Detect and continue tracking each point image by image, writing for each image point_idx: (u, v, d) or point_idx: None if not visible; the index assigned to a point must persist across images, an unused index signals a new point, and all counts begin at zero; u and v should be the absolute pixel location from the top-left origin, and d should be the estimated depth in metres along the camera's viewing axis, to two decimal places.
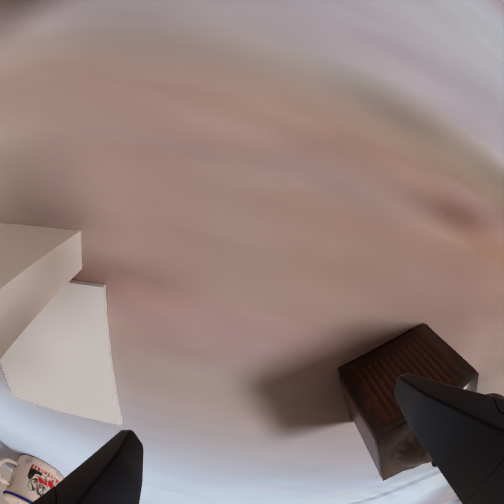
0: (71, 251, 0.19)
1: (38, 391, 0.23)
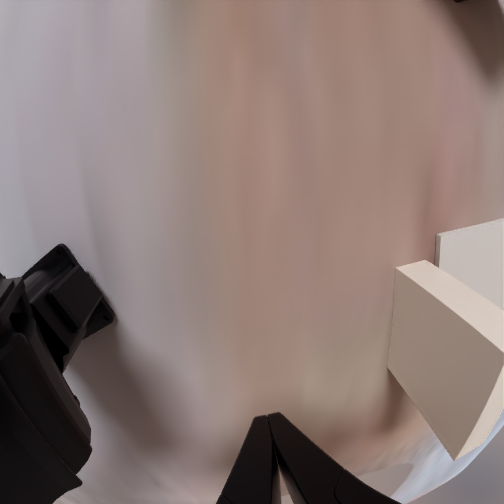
0: (419, 273, 0.20)
1: None
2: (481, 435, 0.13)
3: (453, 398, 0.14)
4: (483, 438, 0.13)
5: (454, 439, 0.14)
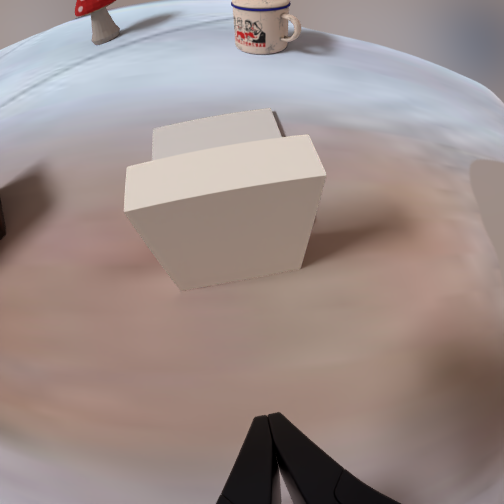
0: None
1: (235, 125, 0.32)
2: (280, 153, 0.15)
3: (240, 219, 0.17)
4: (294, 142, 0.15)
5: (292, 192, 0.15)
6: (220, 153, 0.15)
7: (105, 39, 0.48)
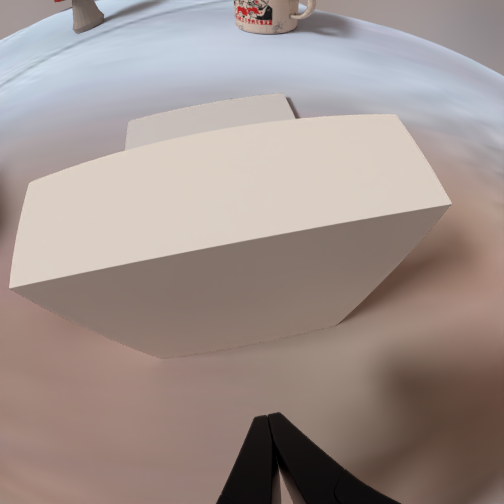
0: None
1: (236, 114, 0.23)
2: (353, 148, 0.06)
3: (260, 289, 0.08)
4: (375, 127, 0.07)
5: (378, 238, 0.07)
6: (215, 145, 0.06)
7: (87, 26, 0.39)
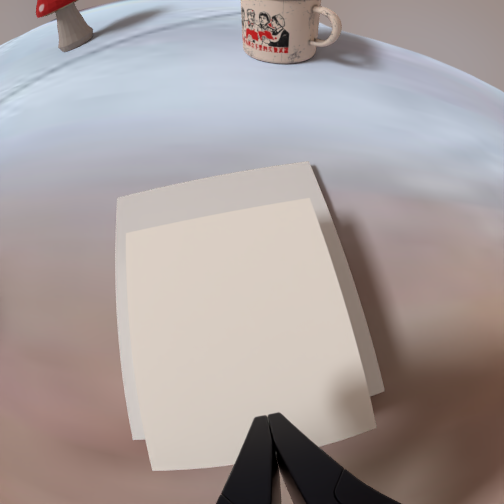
0: None
1: (252, 197, 0.20)
2: None
3: (237, 260, 0.15)
4: None
5: (284, 219, 0.15)
6: None
7: (74, 44, 0.36)
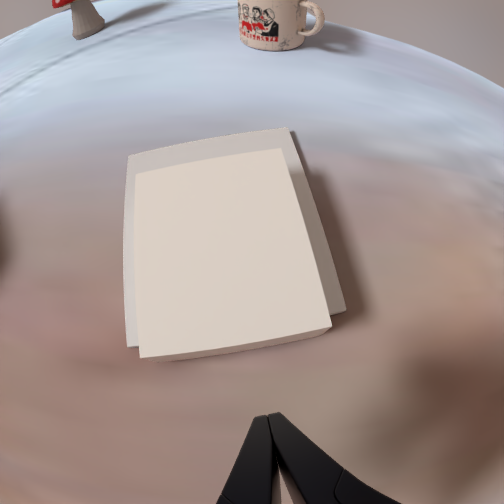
0: None
1: (239, 153, 0.24)
2: None
3: (220, 190, 0.18)
4: None
5: (259, 162, 0.19)
6: None
7: (87, 33, 0.39)
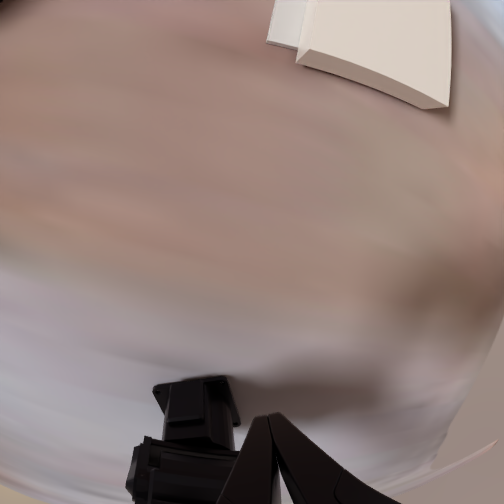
0: (308, 28, 0.14)
1: None
2: None
3: None
4: None
5: None
6: None
7: None
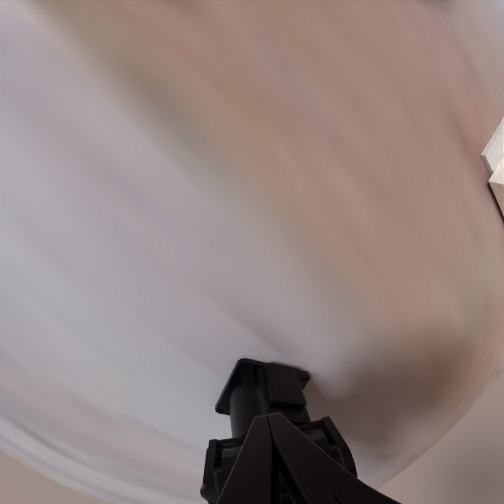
0: None
1: None
2: None
3: None
4: None
5: None
6: None
7: None
